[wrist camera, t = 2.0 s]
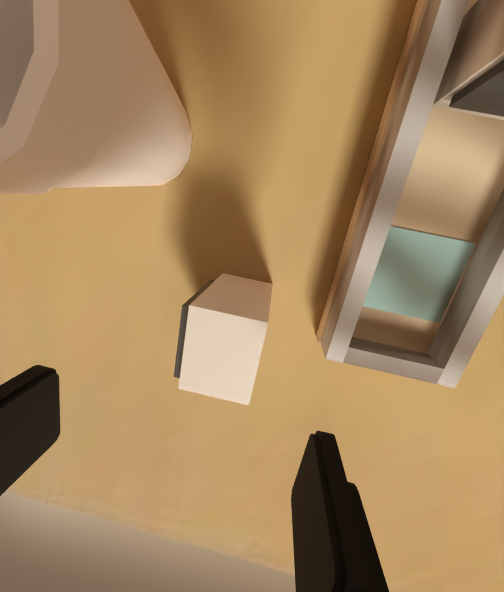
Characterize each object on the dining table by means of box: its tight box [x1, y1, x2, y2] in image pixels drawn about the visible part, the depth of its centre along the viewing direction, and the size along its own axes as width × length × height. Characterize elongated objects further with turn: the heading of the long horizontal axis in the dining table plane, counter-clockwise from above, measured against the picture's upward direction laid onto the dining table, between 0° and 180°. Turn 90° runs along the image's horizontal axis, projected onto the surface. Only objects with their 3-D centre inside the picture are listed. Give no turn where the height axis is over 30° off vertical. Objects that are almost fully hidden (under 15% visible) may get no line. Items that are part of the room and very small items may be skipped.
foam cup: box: [0, 0, 193, 194], centre depth 12 cm, size 10×9×13 cm
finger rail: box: [316, 0, 504, 388], centre depth 13 cm, size 22×9×10 cm, turn 169°
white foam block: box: [174, 273, 273, 405], centre depth 17 cm, size 4×5×8 cm
